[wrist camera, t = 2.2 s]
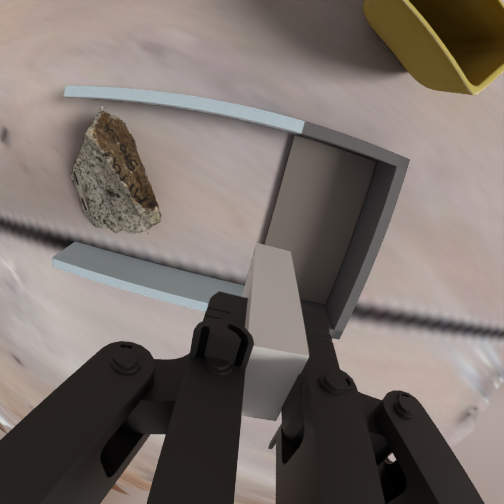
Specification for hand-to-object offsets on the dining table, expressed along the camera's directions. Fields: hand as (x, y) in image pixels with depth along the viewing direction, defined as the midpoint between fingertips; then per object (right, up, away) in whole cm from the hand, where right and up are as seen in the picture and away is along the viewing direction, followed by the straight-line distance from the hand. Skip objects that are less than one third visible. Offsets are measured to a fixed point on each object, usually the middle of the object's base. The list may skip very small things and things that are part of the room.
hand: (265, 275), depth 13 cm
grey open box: (+5, +3, +10) cm, 12 cm away
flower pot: (+12, +19, +4) cm, 22 cm away
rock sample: (-11, +7, +10) cm, 16 cm away
